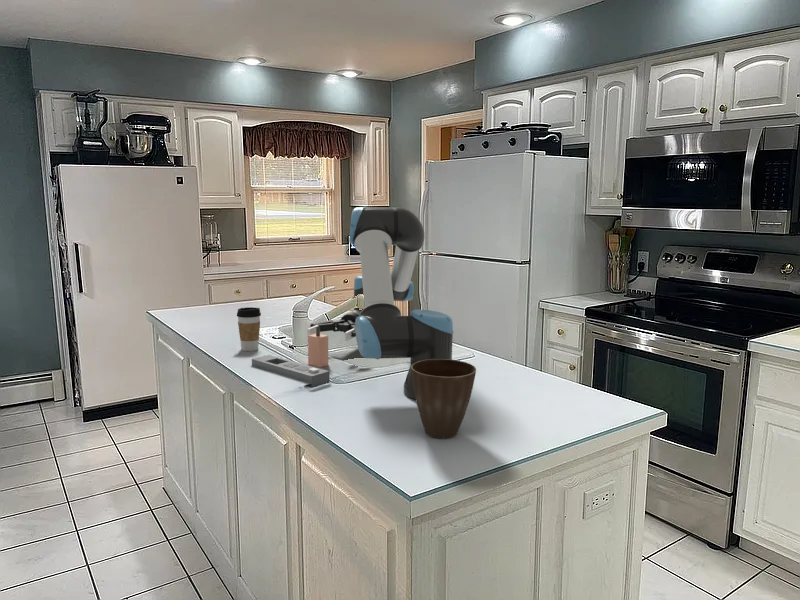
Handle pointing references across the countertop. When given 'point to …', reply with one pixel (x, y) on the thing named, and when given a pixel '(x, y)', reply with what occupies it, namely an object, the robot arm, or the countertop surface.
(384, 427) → the countertop surface
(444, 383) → the plant pot
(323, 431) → the countertop surface
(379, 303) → the robot arm
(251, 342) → the coffee cup
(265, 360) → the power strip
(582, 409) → the countertop surface
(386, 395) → the countertop surface
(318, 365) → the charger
